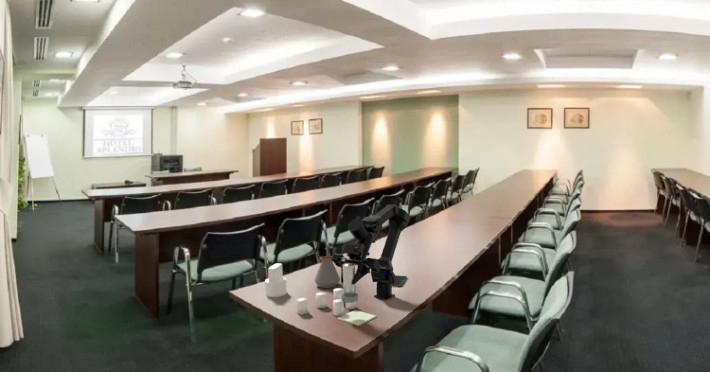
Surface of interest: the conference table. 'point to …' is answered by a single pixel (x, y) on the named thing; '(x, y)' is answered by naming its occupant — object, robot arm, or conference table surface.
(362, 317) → the sage mat
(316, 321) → the conference table surface
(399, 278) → the phone
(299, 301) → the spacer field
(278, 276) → the cylinder with rectangular tab
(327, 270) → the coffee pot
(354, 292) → the silver cylinder
